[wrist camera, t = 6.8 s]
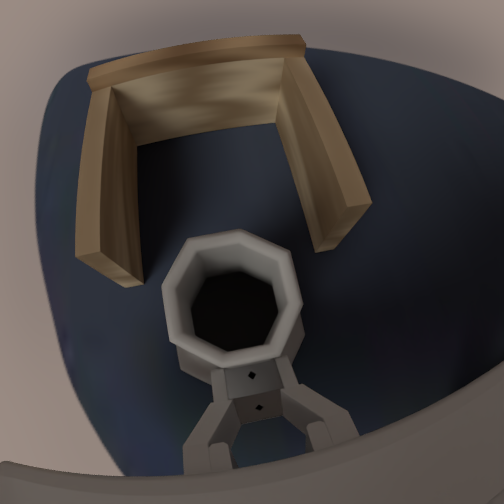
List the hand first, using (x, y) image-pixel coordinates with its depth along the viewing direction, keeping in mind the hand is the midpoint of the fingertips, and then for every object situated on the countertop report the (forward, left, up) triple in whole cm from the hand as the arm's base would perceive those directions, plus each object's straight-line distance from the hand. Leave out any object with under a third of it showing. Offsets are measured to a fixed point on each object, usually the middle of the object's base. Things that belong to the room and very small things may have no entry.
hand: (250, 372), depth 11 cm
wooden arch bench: (0, -10, -4) cm, 11 cm away
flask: (0, -2, -5) cm, 5 cm away
